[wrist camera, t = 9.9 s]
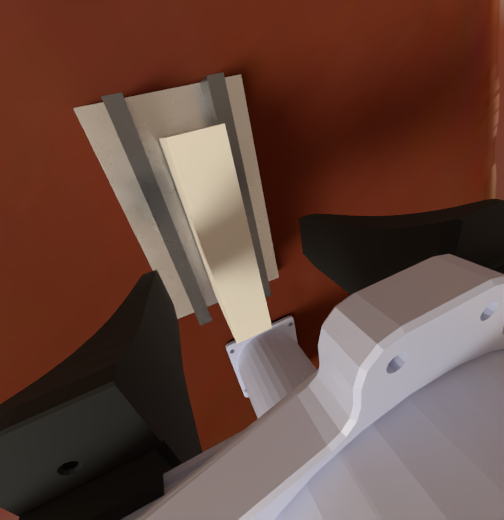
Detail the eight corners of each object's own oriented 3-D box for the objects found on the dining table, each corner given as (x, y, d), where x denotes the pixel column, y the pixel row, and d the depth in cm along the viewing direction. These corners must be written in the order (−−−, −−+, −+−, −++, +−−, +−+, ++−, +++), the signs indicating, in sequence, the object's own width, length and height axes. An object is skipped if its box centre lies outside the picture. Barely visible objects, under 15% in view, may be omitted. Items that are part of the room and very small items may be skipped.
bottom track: (274, 272, 25) (288, 287, 22) (175, 312, 22) (179, 334, 20) (236, 77, 17) (252, 66, 14) (77, 110, 14) (63, 104, 12)
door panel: (238, 277, 22) (272, 327, 16) (212, 288, 22) (236, 344, 16) (196, 128, 16) (224, 123, 10) (157, 138, 16) (164, 137, 10)
